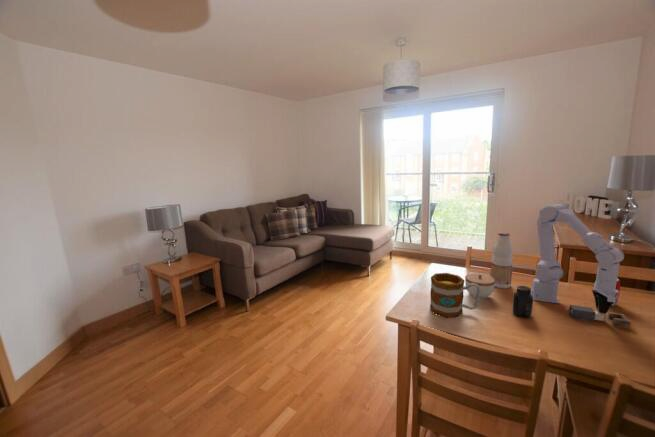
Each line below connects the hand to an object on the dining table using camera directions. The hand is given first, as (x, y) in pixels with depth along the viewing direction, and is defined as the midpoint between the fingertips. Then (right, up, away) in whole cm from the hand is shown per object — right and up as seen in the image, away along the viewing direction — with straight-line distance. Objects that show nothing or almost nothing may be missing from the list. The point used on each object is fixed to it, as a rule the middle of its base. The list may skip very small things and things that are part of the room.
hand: (601, 310), depth 114 cm
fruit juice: (-19, +2, +36) cm, 40 cm away
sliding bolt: (-3, -3, +2) cm, 5 cm away
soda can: (+15, -1, +13) cm, 20 cm away
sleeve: (-5, -4, +3) cm, 7 cm away
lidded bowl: (-35, -1, +25) cm, 43 cm away
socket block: (+5, -4, -2) cm, 7 cm away
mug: (-53, -4, +12) cm, 55 cm away
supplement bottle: (-26, -4, +8) cm, 28 cm away
